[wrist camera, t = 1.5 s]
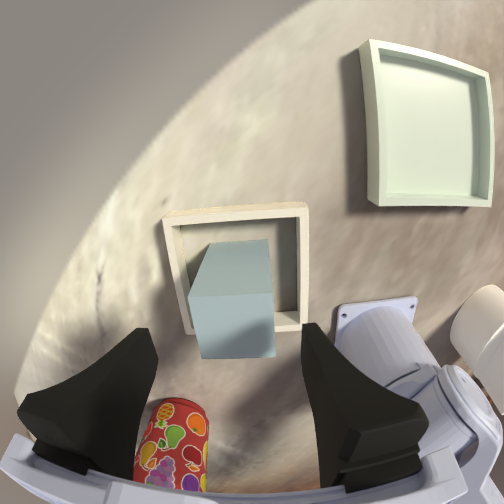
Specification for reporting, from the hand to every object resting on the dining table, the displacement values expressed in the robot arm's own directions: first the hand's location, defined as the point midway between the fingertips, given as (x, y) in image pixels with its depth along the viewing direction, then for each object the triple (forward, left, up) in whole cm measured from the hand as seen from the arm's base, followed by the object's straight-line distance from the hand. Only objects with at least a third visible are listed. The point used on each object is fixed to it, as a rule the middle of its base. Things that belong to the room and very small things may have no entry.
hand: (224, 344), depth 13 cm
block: (-1, 0, -10) cm, 10 cm away
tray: (+10, -16, -10) cm, 22 cm away
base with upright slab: (-10, -27, -11) cm, 31 cm away
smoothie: (-20, +9, -11) cm, 24 cm away
